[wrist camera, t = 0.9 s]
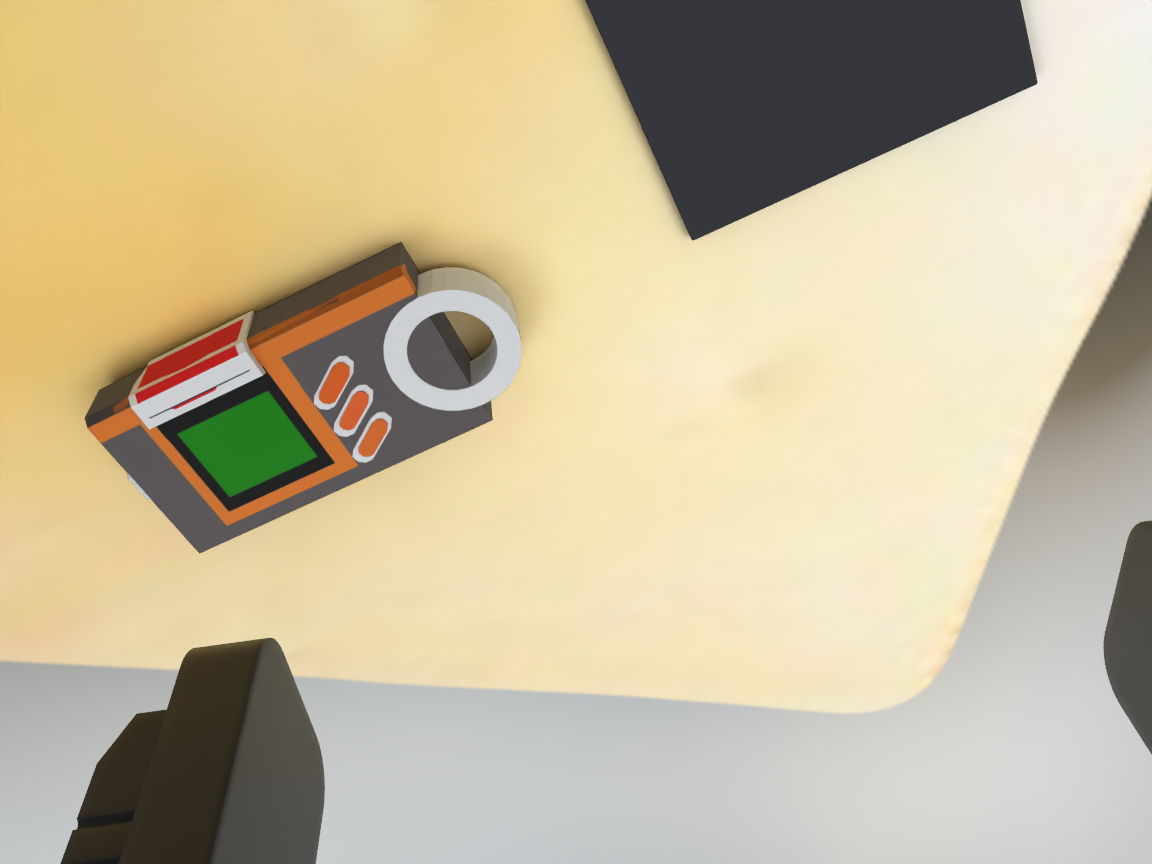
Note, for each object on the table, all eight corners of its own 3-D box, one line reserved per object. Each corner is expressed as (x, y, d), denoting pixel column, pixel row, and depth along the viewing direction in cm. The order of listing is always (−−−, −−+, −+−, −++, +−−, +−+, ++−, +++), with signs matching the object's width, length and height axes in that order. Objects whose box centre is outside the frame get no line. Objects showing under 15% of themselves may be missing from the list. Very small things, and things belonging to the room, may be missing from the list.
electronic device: (554, 397, 37) (189, 563, 39) (547, 357, 39) (203, 515, 42) (463, 236, 33) (66, 429, 36) (461, 203, 36) (90, 384, 38)
